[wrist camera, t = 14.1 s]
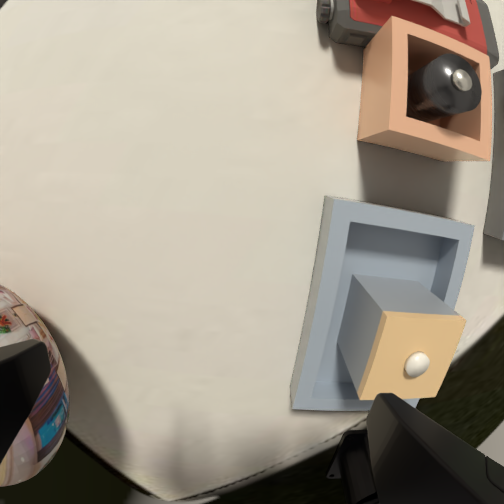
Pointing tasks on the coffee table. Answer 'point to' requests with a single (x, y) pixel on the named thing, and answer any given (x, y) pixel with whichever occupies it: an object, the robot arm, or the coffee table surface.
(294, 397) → the tray
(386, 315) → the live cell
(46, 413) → the ornament
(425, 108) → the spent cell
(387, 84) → the cup
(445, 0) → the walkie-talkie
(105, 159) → the coffee table surface
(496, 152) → the checker frame
